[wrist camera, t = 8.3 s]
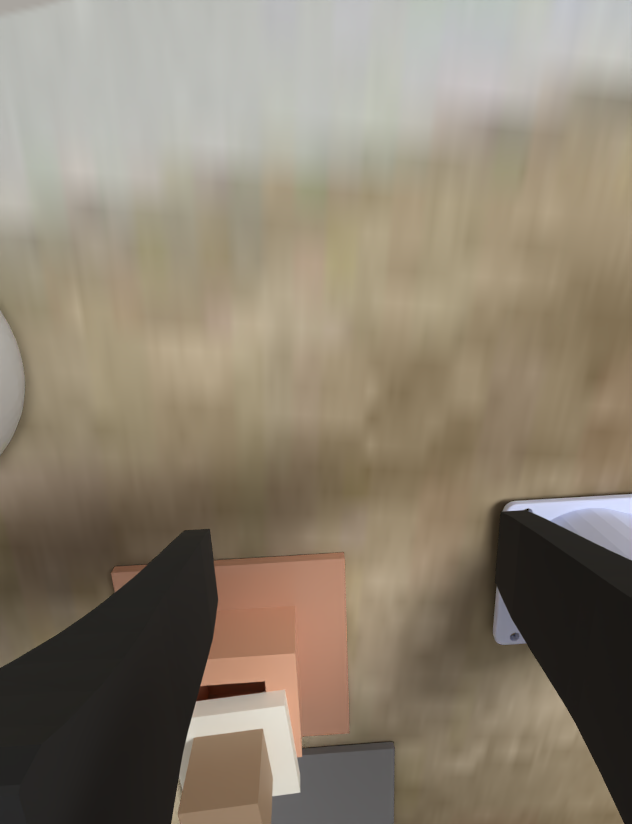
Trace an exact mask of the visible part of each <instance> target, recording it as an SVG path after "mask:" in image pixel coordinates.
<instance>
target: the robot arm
mask: <svg viewBox="0 0 632 824" xmlns="http://www.w3.org/2000/svg"><path fill="white" fill-rule="evenodd" d="M527 508H529V510H528V511H526V510H525V509H527ZM495 583H496V585H497V588H496V600H495V612H494V624H493V637H494V639H495V640H496V642H497V643H498V644H500V645H510V644H524V643H527V645H528V647H529V648H530V650H531V651H532V653H533V655H534V656H535V658H536V659H537V661H538V663H539V664H540V666H541V667H542V669H543V671H544V672H545V674H546V675H547V677H548V679H549V680H550V682H551V683H552V685H553V687H554V688H555V690H556V691H557V693H558V695H559V696H560V698H561V699H562V701H563V703H564V704H565V706H566V708H567V709H568V711H569V713H570V715H571V716H572V718H573V720H574V722H575V723H576V725H577V727H578V729H579V731H580V733H581V735H582V737H583V739H584V741H585V743H586V745H587V747H588V749H589V751H590V753H591V755H592V757H593V759H594V761H595V763H596V765H597V767H598V769H599V771H600V773H601V775H602V777H603V779H604V781H605V783H606V786H607V788H608V790H609V792H610V794H611V796H612V798H613V800H614V802H615V805H616V807H617V809H618V811H619V813H620V815H621V817H622V819H623V822H624V824H632V494H623V495H606V496H589V497H572V498H555V499H539V500H522V501H512V502H509V503H508V504H506V505H505V507H504V509H503V511H501V515H500V527H499V539H498V551H497V564H496V576H495ZM217 606H218V593H217V584H216V576H215V568H214V560H213V552H212V543H211V535H210V529H201V530H185V531H184V532H182V533H181V534H180V535H179V536H178V537H177V538H176V539H175V540H173V541H172V542H171V543H170V544H169V545H168V546H167V547H166V548H165V549H164V550H163V551H162V552H161V553H160V554H159V555H158V556H156V557H155V558H154V559H153V560H152V561H151V562H150V563H149V564H148V565H147V566H146V567H144V568H143V569H142V570H141V571H140V572H139V573H138V574H137V575H136V576H134V577H133V578H132V579H131V580H130V581H128V582H127V583H126V584H125V585H124V586H122V587H121V588H120V589H119V590H117V591H116V592H115V593H114V594H113V595H111V596H110V597H109V598H108V599H107V600H105V601H104V602H103V603H102V604H100V605H99V606H98V607H96V608H95V609H94V610H92V611H91V612H90V613H88V614H87V615H85V616H84V617H83V618H81V619H80V620H78V621H77V622H75V623H74V624H72V625H71V626H69V627H68V628H67V629H65V630H64V631H62V632H61V633H59V634H57V635H56V636H54V637H53V638H51V639H49V640H48V641H46V642H44V643H43V644H41V645H39V646H38V647H36V648H34V649H32V650H31V651H29V652H27V653H26V654H24V655H22V656H21V657H19V658H17V659H16V660H14V661H12V662H10V663H9V664H7V665H5V666H3V667H1V668H0V824H171V820H172V814H173V808H174V802H175V796H176V790H177V785H178V779H179V773H180V767H181V762H182V756H183V751H184V747H185V742H186V738H187V734H188V730H189V726H190V722H191V719H192V715H193V711H194V708H195V704H196V700H197V697H198V693H199V689H200V685H201V682H202V678H203V674H204V671H205V667H206V663H207V659H208V656H209V652H210V648H211V644H212V640H213V635H214V628H215V621H216V614H217ZM513 633H515V634H514V635H511V634H513Z"/></svg>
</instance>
